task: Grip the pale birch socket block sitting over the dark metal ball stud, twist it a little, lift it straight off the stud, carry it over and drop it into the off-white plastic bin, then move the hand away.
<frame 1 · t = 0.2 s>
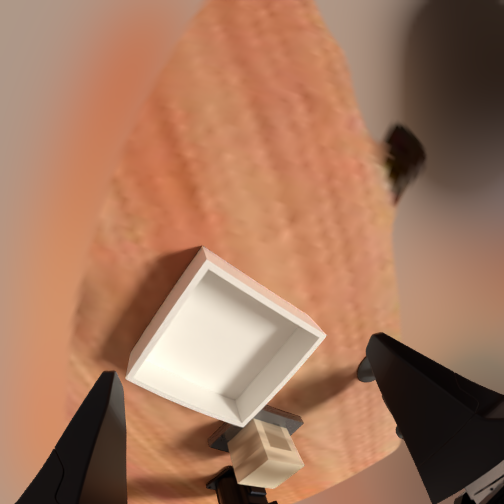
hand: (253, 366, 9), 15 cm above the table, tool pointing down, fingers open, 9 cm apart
bin: (220, 336, 26), on the table
socket block: (257, 436, 29), point 1 cm above the table, touching stud plate
sundae: (373, 365, 32), on the table
stud plate: (254, 429, 30), on the table
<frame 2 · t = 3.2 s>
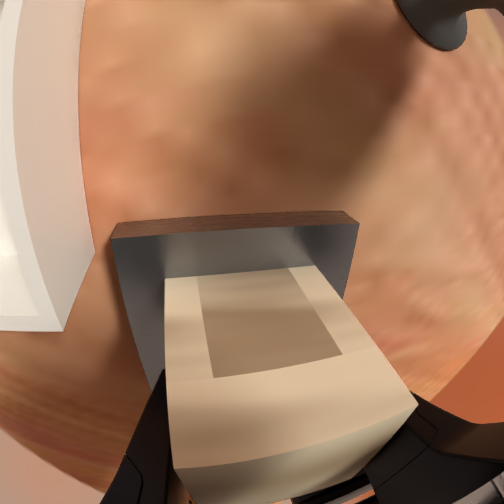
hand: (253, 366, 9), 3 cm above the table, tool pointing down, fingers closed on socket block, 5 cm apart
socket block: (241, 329, 11), point 1 cm above the table, touching gripper, stud plate
sundae: (429, 2, 7), on the table
stud plate: (235, 309, 12), on the table
drinking cup: (171, 500, 25), on the table
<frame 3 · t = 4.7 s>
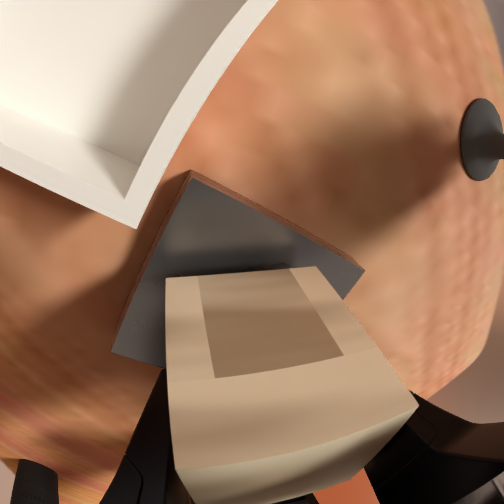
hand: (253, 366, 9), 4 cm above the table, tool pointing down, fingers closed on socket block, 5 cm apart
socket block: (242, 329, 11), point 2 cm above the table, touching gripper
sundae: (479, 139, 12), on the table
stud plate: (232, 298, 12), on the table
drinking cup: (38, 466, 18), on the table
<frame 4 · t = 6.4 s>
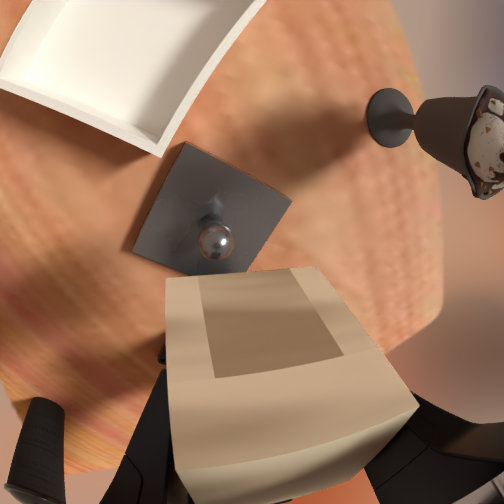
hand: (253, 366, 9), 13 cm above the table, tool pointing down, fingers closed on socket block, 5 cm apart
bin: (132, 29, 13), on the table
socket block: (242, 329, 11), point 11 cm above the table, touching gripper
sundae: (389, 118, 20), on the table
stud plate: (209, 218, 20), on the table
drinking cup: (48, 406, 26), on the table
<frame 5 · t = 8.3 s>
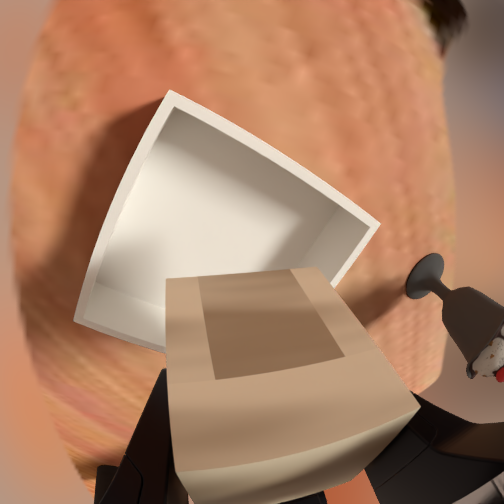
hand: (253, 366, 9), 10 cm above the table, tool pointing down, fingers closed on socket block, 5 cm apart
bin: (214, 237, 17), on the table
socket block: (242, 330, 11), point 8 cm above the table, touching gripper
sundae: (423, 275, 24), on the table
drinking cup: (112, 469, 30), on the table
when the fingers open (4 cm above the table, at t = 10.0 s): socket block drops 2 cm, resting on bin.
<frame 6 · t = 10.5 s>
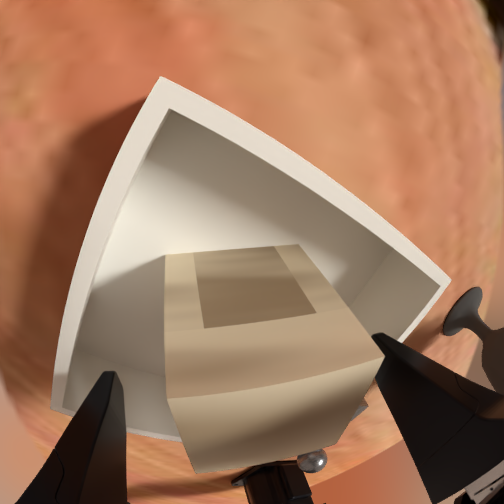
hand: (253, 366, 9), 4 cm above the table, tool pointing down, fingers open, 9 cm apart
bin: (231, 294, 12), on the table
socket block: (234, 303, 12), point 1 cm above the table, touching bin
sundae: (461, 310, 19), on the table
stud plate: (296, 422, 20), on the table
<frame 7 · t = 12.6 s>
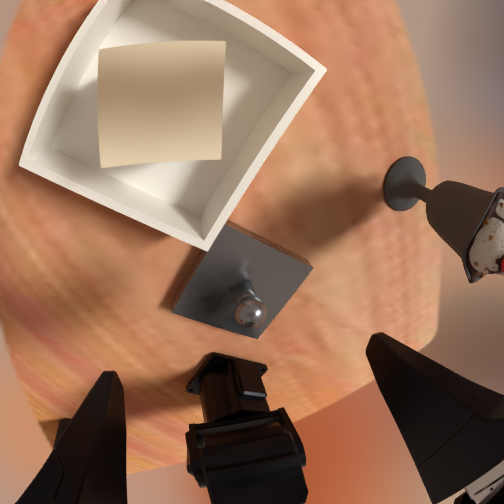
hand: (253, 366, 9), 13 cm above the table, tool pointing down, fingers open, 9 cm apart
bin: (166, 101, 15), on the table
socket block: (165, 101, 15), point 1 cm above the table, touching bin
sundae: (403, 183, 22), on the table
stud plate: (239, 281, 23), on the table
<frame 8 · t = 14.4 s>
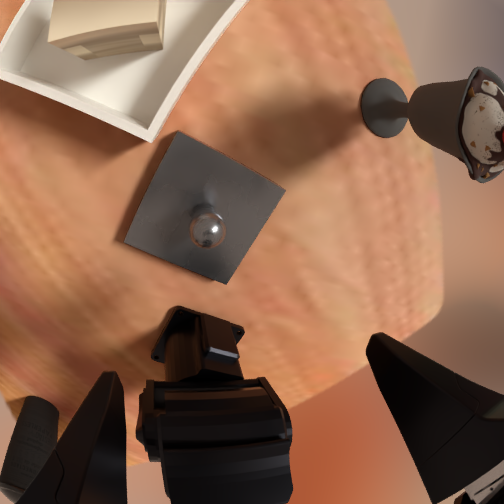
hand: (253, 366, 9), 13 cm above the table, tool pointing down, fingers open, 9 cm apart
bin: (126, 21, 13), on the table
socket block: (125, 19, 12), point 1 cm above the table, touching bin
sundae: (384, 108, 19), on the table
stud plate: (202, 209, 20), on the table
drinking cup: (42, 405, 25), on the table
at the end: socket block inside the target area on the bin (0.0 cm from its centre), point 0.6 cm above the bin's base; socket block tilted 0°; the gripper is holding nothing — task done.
